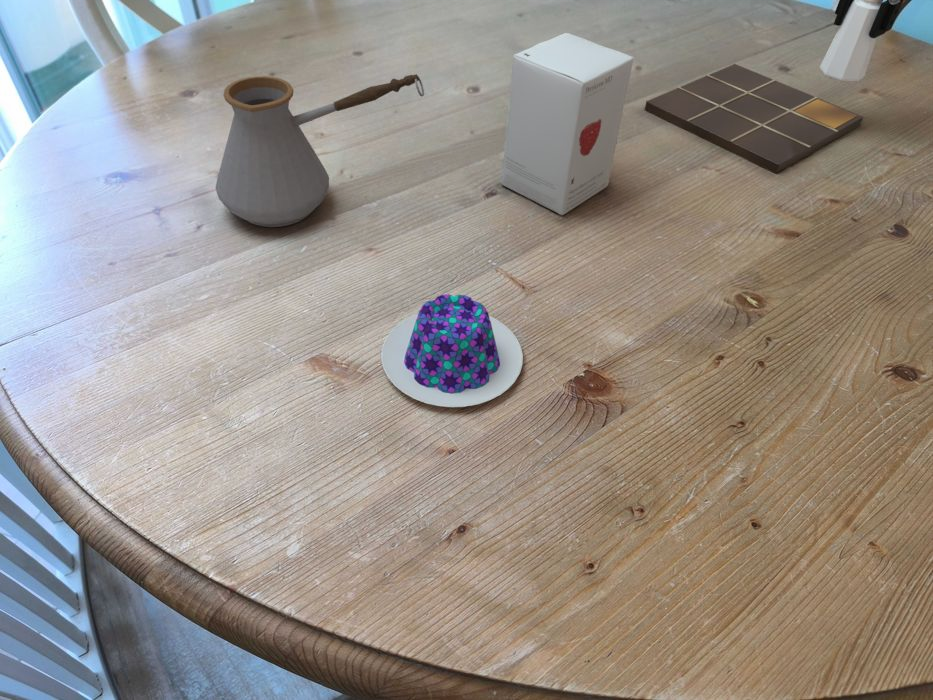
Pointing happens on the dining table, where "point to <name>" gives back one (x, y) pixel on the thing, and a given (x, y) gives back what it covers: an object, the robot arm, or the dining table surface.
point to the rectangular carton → (564, 120)
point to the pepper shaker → (852, 43)
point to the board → (754, 116)
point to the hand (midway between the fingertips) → (859, 27)
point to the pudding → (452, 354)
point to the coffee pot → (278, 151)
